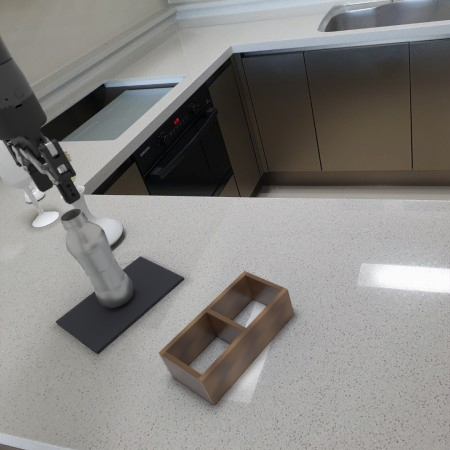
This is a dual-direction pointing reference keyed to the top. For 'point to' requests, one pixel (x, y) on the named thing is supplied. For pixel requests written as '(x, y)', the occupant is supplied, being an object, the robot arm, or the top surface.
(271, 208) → the top surface
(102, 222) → the flower in vase
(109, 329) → the mat
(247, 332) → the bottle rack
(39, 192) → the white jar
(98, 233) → the plastic bottle
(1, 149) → the champagne flute
